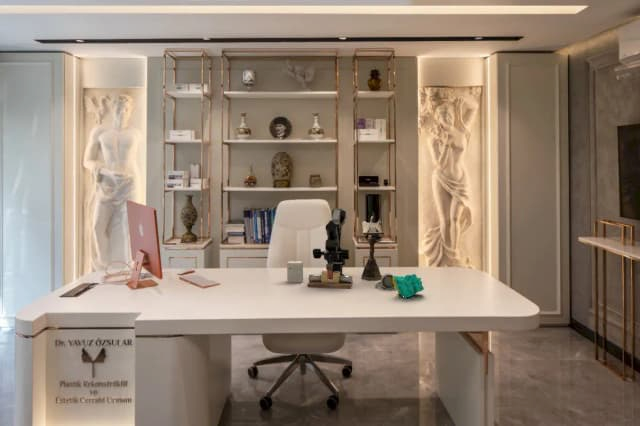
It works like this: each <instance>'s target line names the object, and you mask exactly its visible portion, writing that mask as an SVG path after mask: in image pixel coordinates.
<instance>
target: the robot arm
mask: <svg viewBox="0 0 640 426" xmlns="http://www.w3.org/2000/svg"><path fill="white" fill-rule="evenodd" d="M330 214H331V215H330V217H331V220H328V223H327V224H325V231H326V232H325V233H326V236H327V239H326V240H325V247H324V248H325V249H324V250H323V251H322V249H321V248H313V249H312V257H313V258H314V259H321V258H322V257H323V259H324V261H326V262H327V263H326V264H332V275H333V272H334V271H340V276H345V274H344V273H343V266H345V265H346V260H350V250H349V249H348V248H341V246H342V232H343V226H344V224H346V220H347V212H346V210H343V209H342V208H341V207H340V208H338V207H337V208H336V207H335V208H333V209H332V210H331V213H330Z"/></svg>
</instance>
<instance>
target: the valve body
mask: <svg viewBox="0 0 640 426" xmlns="http://www.w3.org/2000/svg"><path fill="white" fill-rule="evenodd" d="M320 273H321V274H308V283H309V282H321V283H328V280H329V279H328V271H327V270H322V271H321V272H320ZM352 281H353V275H343V276H340V271H334V272H333V283H338V284H339V283H352Z"/></svg>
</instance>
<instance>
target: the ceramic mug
mask: <svg viewBox="0 0 640 426" xmlns="http://www.w3.org/2000/svg"><path fill="white" fill-rule="evenodd" d="M393 276H394V274H392V273H389V272H387V273H384V274H382V278H381V280H380V281H379V282H377V283H375V284H374V286H375V288H376V289H377V288H378V289H379V288H380V287H383V288H384V289H386V290H391V289H394V288H395V287H394V284H393Z"/></svg>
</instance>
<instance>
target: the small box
mask: <svg viewBox="0 0 640 426" xmlns="http://www.w3.org/2000/svg"><path fill="white" fill-rule="evenodd" d="M286 269H287V270H286V273H287V274H286V275H287V276H286V278H287V279H286V280H287V283H303V282H304V261H298V260H295V261H294V260H291V261H289V260H288V262H287V263H286Z"/></svg>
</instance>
